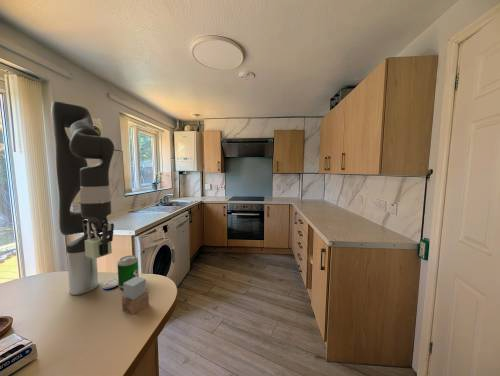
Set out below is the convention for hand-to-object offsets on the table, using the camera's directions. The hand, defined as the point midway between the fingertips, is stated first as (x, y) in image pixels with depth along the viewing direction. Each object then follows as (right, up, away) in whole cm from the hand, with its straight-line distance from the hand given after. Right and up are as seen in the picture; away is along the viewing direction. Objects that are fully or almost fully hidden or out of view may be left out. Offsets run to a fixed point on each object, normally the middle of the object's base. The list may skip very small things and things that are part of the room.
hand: (99, 252), depth 63 cm
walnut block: (+7, -23, +9) cm, 25 cm away
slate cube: (+7, -18, +9) cm, 21 cm away
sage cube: (0, 0, 0) cm, 0 cm away
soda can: (-5, -22, +23) cm, 32 cm away
